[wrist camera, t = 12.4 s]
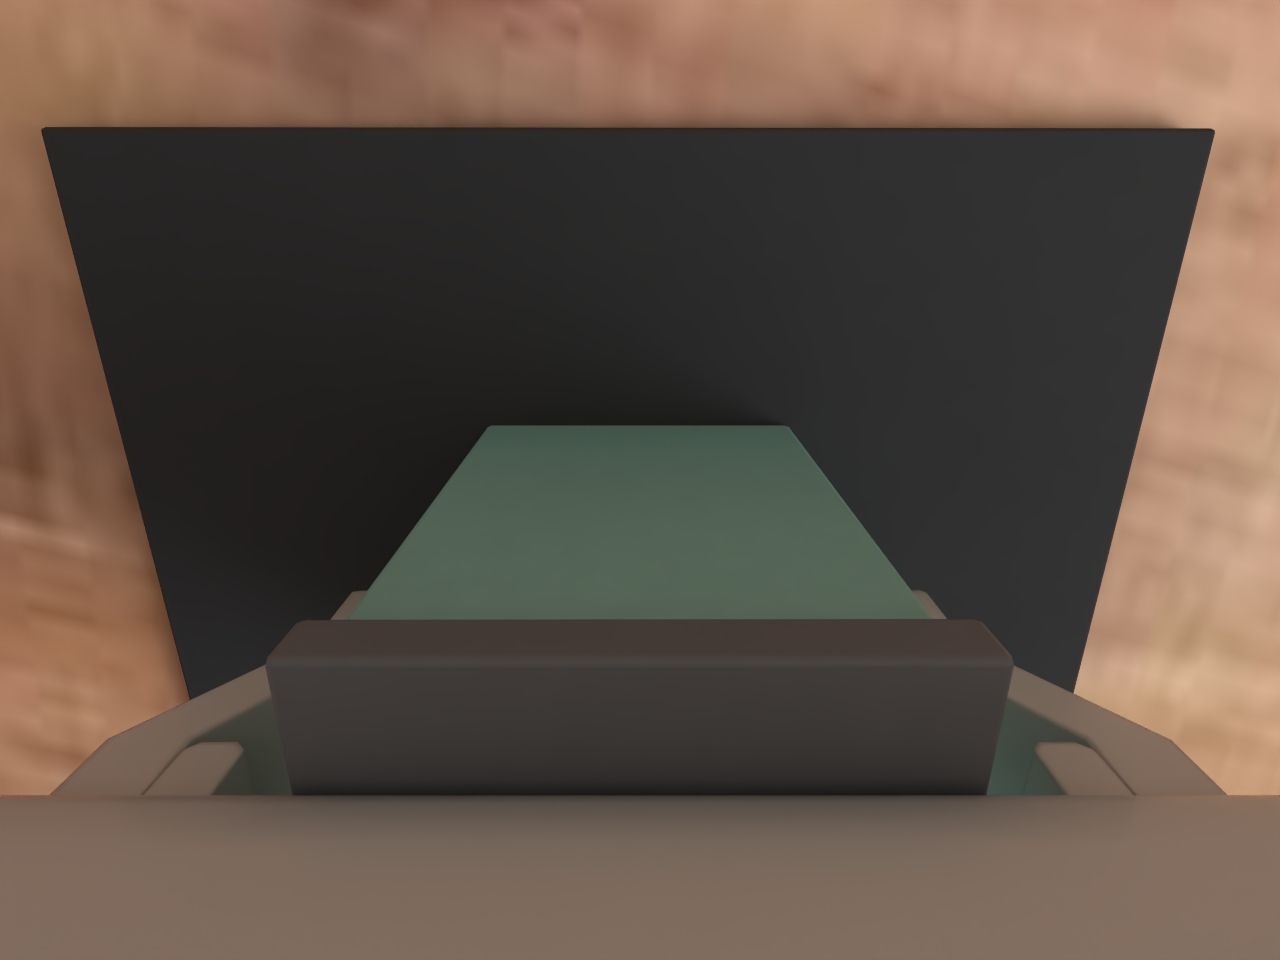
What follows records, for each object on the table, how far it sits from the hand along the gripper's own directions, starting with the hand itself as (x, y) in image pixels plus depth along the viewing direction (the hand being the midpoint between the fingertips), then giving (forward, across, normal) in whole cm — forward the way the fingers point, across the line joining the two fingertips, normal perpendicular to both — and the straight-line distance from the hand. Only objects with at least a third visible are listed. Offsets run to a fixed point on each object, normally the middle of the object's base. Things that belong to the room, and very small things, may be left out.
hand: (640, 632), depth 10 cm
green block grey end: (+2, 0, 0) cm, 2 cm away
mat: (+3, 0, 0) cm, 3 cm away
